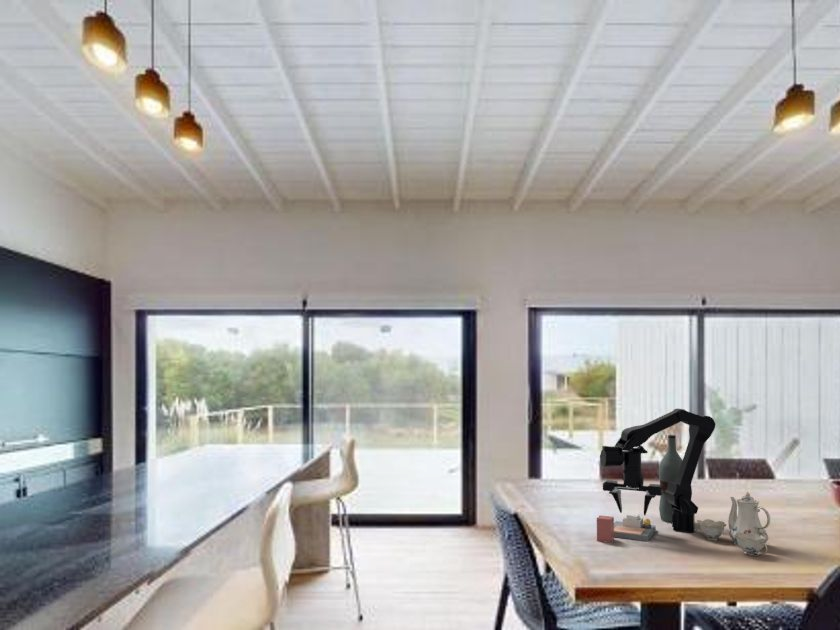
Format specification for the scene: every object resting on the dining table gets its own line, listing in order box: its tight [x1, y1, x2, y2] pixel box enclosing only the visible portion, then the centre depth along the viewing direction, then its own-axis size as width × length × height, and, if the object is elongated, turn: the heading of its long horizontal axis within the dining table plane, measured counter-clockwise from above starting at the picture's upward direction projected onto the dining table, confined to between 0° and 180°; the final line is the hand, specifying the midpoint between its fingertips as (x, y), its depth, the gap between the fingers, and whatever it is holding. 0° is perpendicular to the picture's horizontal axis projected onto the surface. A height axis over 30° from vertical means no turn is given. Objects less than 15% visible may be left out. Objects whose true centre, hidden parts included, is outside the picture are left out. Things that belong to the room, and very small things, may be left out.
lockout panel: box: [614, 515, 657, 542], centre depth 227 cm, size 13×16×4 cm
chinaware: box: [696, 491, 771, 556], centre depth 212 cm, size 28×17×17 cm, turn 19°
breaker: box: [625, 513, 641, 521], centre depth 230 cm, size 4×4×3 cm
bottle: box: [658, 434, 683, 524], centre depth 246 cm, size 9×9×30 cm
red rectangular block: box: [596, 514, 615, 543], centre depth 218 cm, size 4×4×7 cm
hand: (632, 513), depth 230 cm, fingers open, 7 cm apart
